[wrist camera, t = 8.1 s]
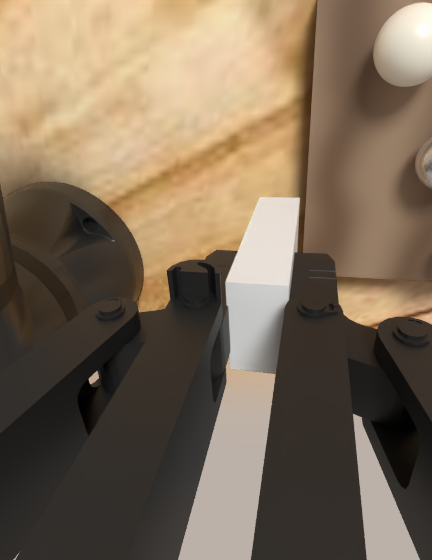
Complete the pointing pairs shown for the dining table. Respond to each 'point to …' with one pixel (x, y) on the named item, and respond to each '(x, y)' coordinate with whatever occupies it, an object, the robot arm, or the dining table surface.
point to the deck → (366, 152)
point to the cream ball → (405, 46)
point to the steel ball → (425, 164)
